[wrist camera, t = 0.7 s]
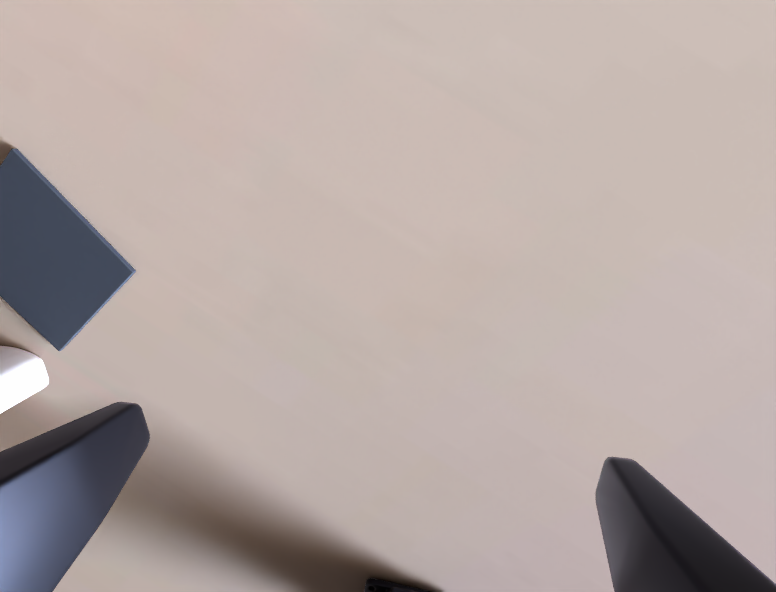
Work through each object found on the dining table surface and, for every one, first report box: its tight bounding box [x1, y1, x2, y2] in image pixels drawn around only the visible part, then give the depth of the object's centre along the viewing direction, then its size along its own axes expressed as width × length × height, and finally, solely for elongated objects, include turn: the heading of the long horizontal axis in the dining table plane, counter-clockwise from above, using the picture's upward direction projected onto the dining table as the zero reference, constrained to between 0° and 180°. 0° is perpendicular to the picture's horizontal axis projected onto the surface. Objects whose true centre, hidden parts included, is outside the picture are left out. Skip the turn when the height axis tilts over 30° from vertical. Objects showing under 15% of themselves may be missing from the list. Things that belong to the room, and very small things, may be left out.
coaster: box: [0, 149, 136, 351], centre depth 25 cm, size 9×9×1 cm
